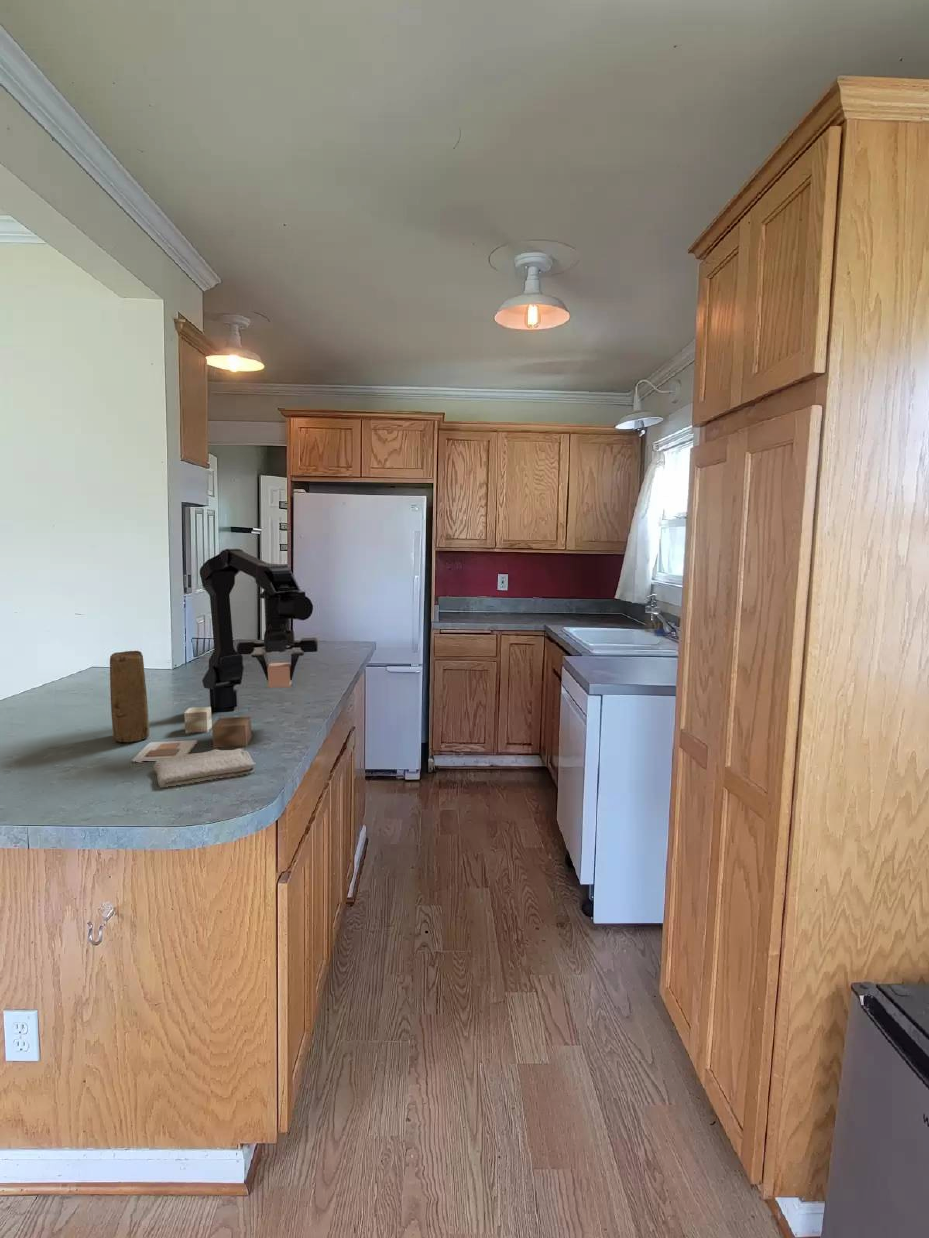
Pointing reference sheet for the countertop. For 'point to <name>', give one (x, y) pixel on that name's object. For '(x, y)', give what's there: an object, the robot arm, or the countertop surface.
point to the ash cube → (198, 719)
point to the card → (165, 750)
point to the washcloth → (202, 766)
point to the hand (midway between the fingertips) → (279, 680)
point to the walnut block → (231, 732)
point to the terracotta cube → (279, 675)
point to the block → (128, 697)
